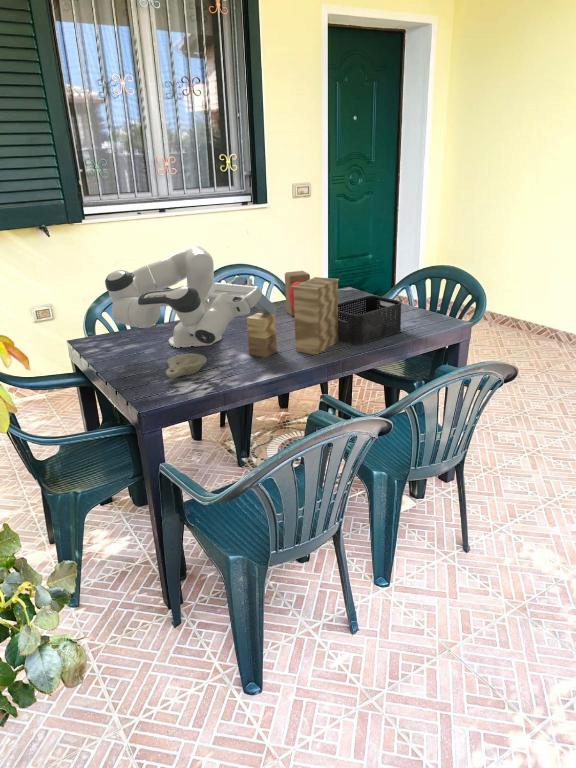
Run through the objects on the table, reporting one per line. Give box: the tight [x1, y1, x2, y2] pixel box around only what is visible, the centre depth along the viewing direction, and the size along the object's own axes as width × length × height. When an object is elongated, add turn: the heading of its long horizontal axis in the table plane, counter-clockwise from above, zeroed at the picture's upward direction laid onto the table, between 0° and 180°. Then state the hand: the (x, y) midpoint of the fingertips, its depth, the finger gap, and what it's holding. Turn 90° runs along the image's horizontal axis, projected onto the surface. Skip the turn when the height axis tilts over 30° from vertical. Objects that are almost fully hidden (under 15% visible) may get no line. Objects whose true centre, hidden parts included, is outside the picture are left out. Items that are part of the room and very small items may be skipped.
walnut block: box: [247, 332, 278, 358], centre depth 227 cm, size 8×8×8 cm
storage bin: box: [338, 295, 402, 346], centre depth 244 cm, size 29×19×13 cm
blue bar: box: [234, 276, 278, 316], centre depth 218 cm, size 26×4×4 cm
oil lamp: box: [165, 353, 207, 379], centre depth 208 cm, size 21×14×5 cm
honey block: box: [246, 312, 277, 339], centre depth 224 cm, size 8×8×8 cm
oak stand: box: [293, 276, 340, 355], centre depth 229 cm, size 19×11×26 cm, turn 150°
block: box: [284, 270, 311, 318], centre depth 278 cm, size 10×10×20 cm
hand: (244, 279), depth 209 cm, fingers closed on blue bar, 4 cm apart
